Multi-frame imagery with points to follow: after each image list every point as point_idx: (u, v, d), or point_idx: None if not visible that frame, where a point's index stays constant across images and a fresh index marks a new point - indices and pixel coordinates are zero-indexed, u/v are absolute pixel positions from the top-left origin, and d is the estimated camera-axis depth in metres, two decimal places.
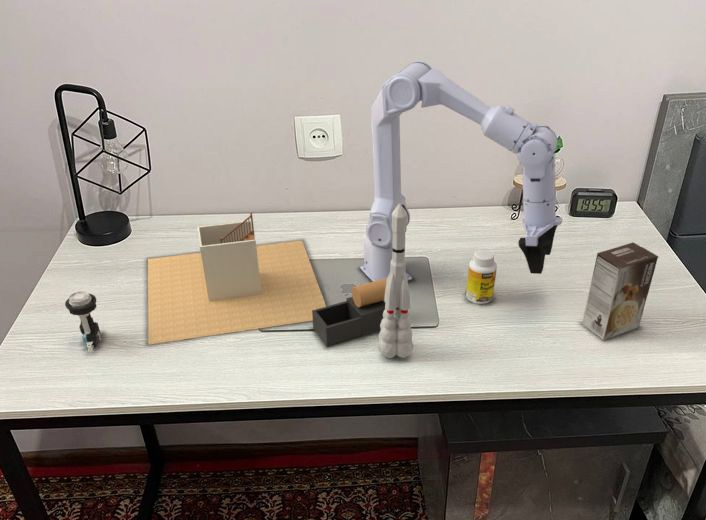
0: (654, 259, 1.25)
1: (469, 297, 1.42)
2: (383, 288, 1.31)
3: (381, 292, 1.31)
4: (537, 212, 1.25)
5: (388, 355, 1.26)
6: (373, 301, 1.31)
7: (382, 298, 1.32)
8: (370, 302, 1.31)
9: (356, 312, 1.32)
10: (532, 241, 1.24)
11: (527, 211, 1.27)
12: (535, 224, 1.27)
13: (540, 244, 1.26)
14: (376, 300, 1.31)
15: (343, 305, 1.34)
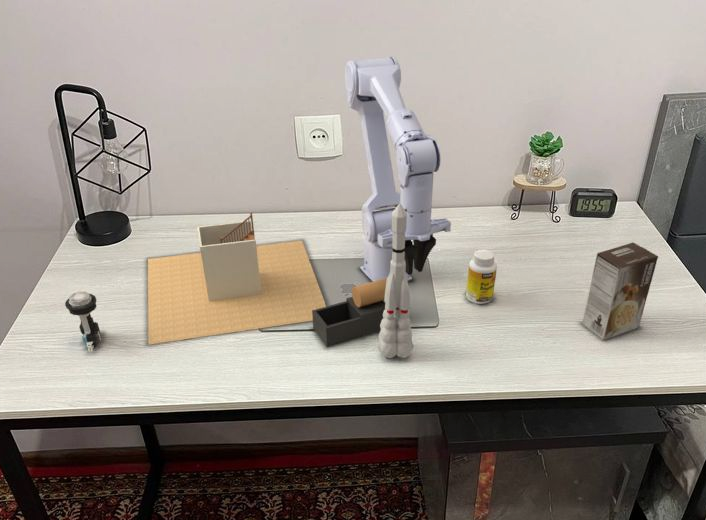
0: (654, 259, 1.25)
1: (469, 297, 1.42)
2: (383, 288, 1.31)
3: (381, 292, 1.31)
4: None
5: (388, 355, 1.26)
6: (373, 301, 1.31)
7: (382, 298, 1.32)
8: (370, 302, 1.31)
9: (356, 312, 1.32)
10: (380, 242, 1.26)
11: None
12: None
13: None
14: (376, 300, 1.31)
15: (343, 305, 1.34)
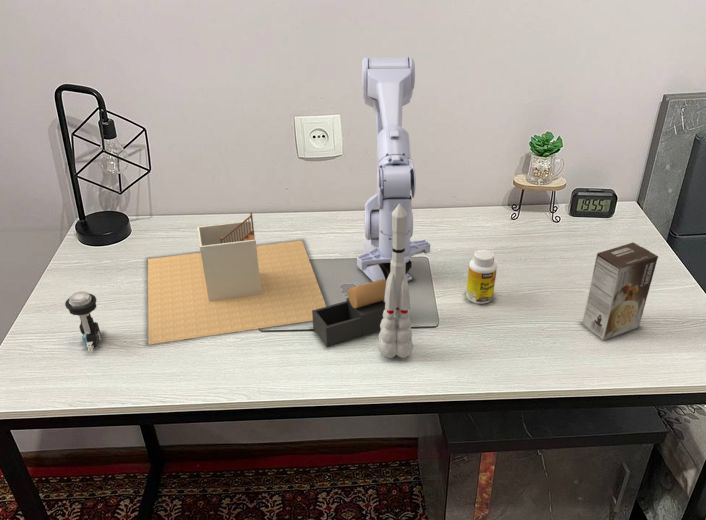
0: (654, 259, 1.25)
1: (469, 297, 1.42)
2: (380, 289, 1.31)
3: (378, 293, 1.31)
4: (381, 241, 1.26)
5: (388, 355, 1.26)
6: (369, 302, 1.31)
7: (378, 299, 1.32)
8: (366, 303, 1.31)
9: (356, 312, 1.32)
10: (359, 264, 1.27)
11: None
12: (380, 252, 1.28)
13: (387, 267, 1.29)
14: (372, 301, 1.31)
15: (343, 305, 1.34)
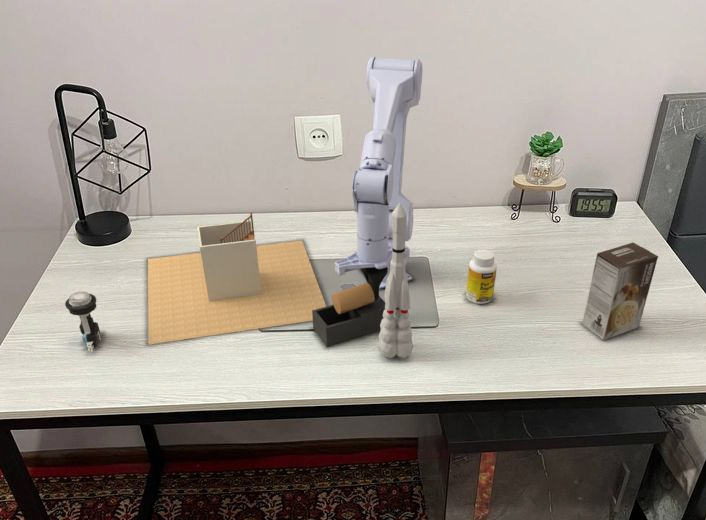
0: (654, 259, 1.25)
1: (469, 297, 1.42)
2: (363, 293, 1.30)
3: (362, 298, 1.29)
4: (359, 246, 1.25)
5: (388, 355, 1.26)
6: (353, 307, 1.30)
7: (363, 304, 1.30)
8: (350, 308, 1.30)
9: (356, 312, 1.32)
10: (337, 269, 1.25)
11: None
12: (358, 257, 1.26)
13: (368, 271, 1.27)
14: (356, 306, 1.30)
15: None
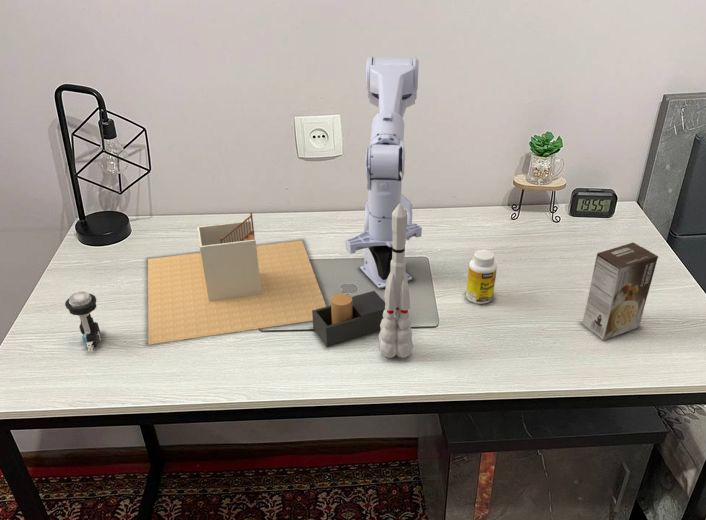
0: (654, 259, 1.25)
1: (469, 297, 1.42)
2: (338, 313, 1.30)
3: (341, 316, 1.30)
4: (371, 224, 1.23)
5: (388, 355, 1.26)
6: None
7: (348, 314, 1.30)
8: None
9: (356, 312, 1.32)
10: (348, 247, 1.24)
11: None
12: (370, 235, 1.25)
13: (376, 250, 1.26)
14: (349, 319, 1.31)
15: None
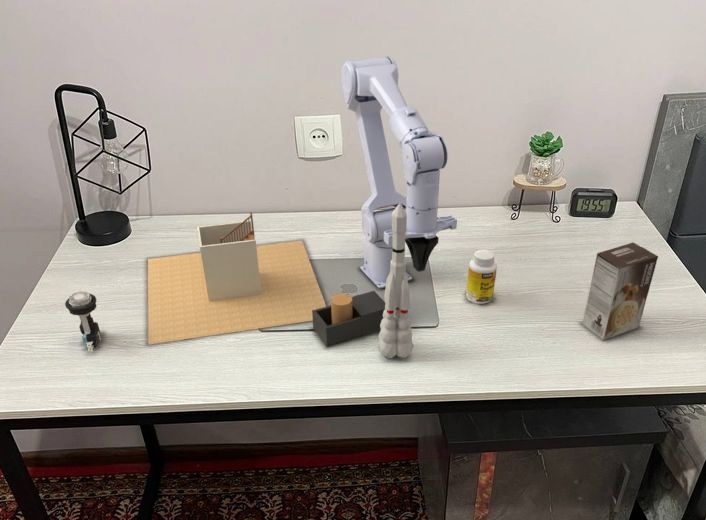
0: (654, 259, 1.25)
1: (469, 297, 1.42)
2: (338, 313, 1.30)
3: (341, 316, 1.30)
4: (408, 216, 1.25)
5: (388, 355, 1.26)
6: None
7: (348, 314, 1.30)
8: None
9: (356, 312, 1.32)
10: (386, 239, 1.26)
11: None
12: (407, 227, 1.27)
13: (413, 242, 1.28)
14: (349, 319, 1.31)
15: None
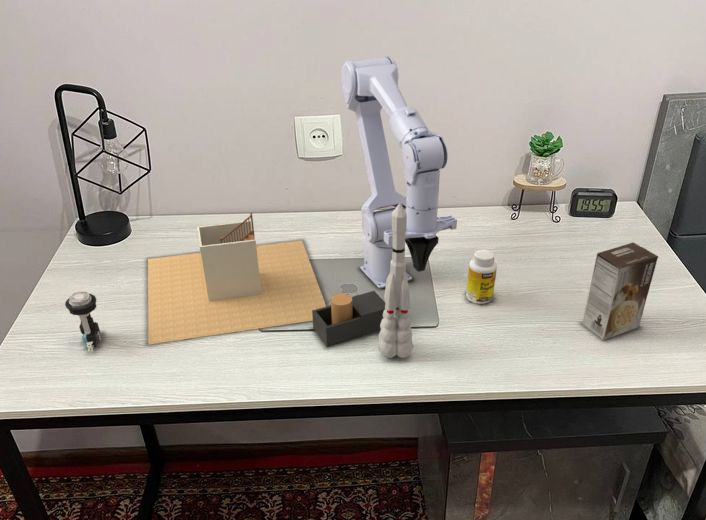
0: (654, 259, 1.25)
1: (469, 297, 1.42)
2: (338, 313, 1.30)
3: (341, 316, 1.30)
4: (408, 216, 1.25)
5: (388, 355, 1.26)
6: None
7: (348, 314, 1.30)
8: None
9: (356, 312, 1.32)
10: (386, 239, 1.26)
11: None
12: (407, 227, 1.27)
13: (413, 242, 1.28)
14: (349, 319, 1.31)
15: None
